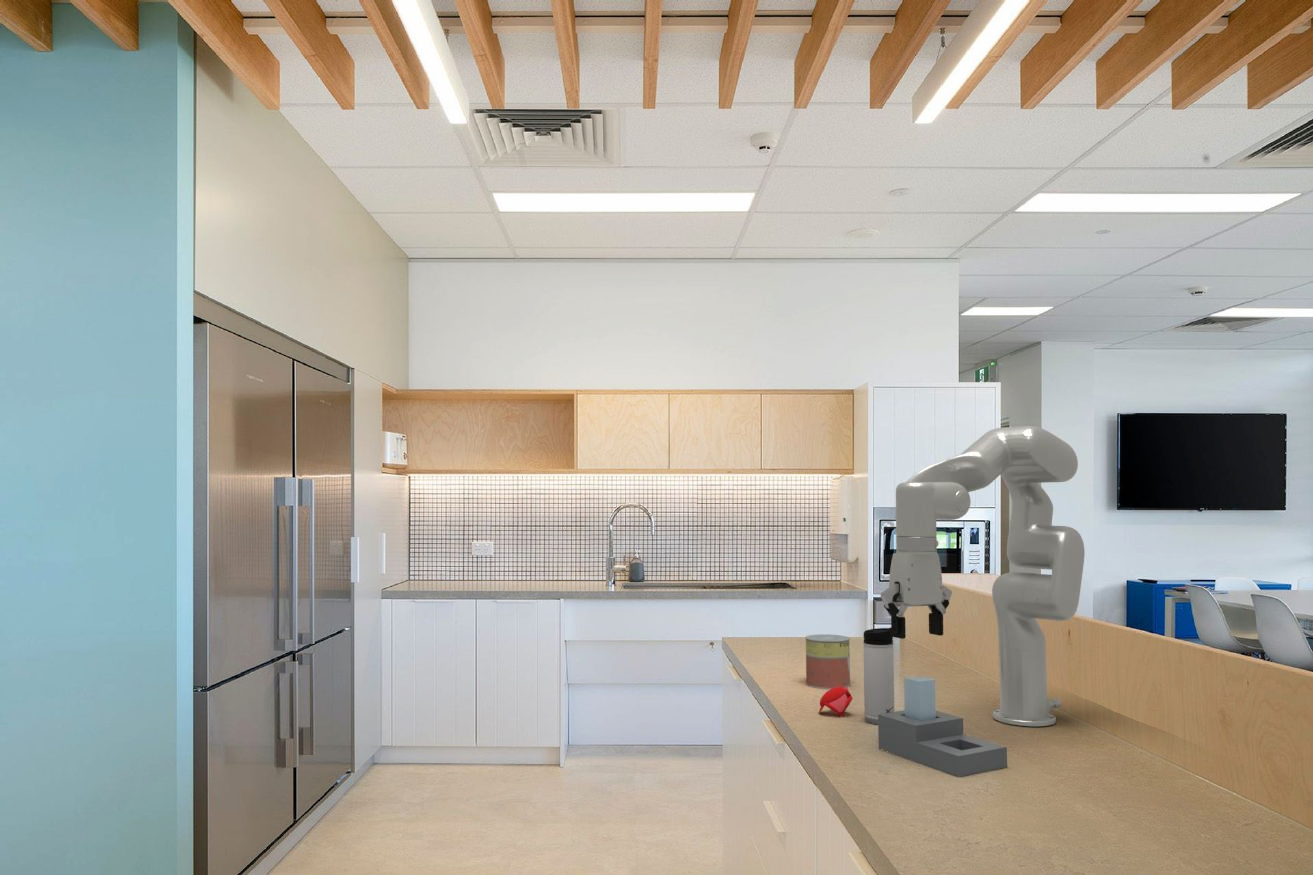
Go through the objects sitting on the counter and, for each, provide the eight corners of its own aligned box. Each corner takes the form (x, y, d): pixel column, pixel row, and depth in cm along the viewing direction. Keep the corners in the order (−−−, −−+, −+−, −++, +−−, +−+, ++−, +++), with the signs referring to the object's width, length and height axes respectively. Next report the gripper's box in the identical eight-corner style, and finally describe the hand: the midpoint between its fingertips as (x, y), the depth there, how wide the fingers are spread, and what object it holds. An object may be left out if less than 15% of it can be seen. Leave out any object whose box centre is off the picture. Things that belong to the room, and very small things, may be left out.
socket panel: (924, 740, 179) (924, 707, 179) (1007, 766, 161) (1006, 729, 161) (878, 748, 173) (878, 714, 173) (958, 776, 155) (957, 738, 156)
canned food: (854, 689, 227) (853, 641, 228) (809, 689, 227) (809, 641, 228) (845, 680, 238) (845, 634, 239) (802, 680, 238) (802, 634, 239)
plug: (918, 727, 175) (917, 675, 176) (936, 733, 171) (934, 679, 171) (902, 730, 173) (901, 677, 174) (920, 735, 169) (919, 681, 170)
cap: (854, 696, 204) (831, 681, 206) (857, 692, 199) (833, 677, 200) (836, 726, 202) (813, 711, 204) (838, 724, 196) (814, 707, 198)
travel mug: (897, 725, 190) (895, 629, 192) (865, 724, 192) (863, 629, 193) (895, 718, 196) (893, 625, 198) (864, 717, 198) (862, 625, 199)
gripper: (934, 544, 181) (936, 631, 180) (868, 545, 173) (869, 636, 172) (963, 546, 175) (965, 636, 173) (896, 547, 167) (897, 641, 165)
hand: (917, 636), depth 173 cm, fingers open, 9 cm apart
